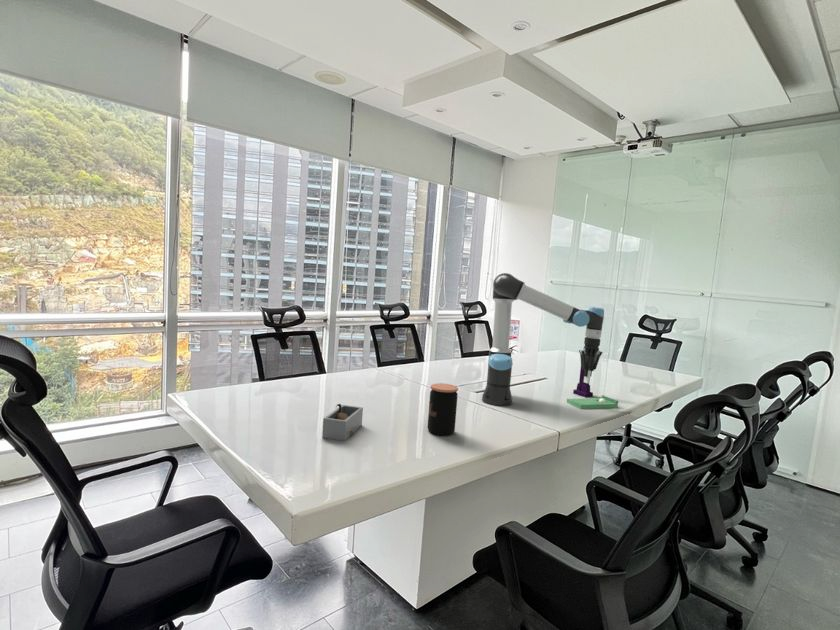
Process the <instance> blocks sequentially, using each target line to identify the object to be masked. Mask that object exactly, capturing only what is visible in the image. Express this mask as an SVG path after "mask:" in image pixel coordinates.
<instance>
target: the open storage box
mask: <svg viewBox="0 0 840 630" xmlns="http://www.w3.org/2000/svg"><path fill="white" fill-rule="evenodd" d="M363 411H364V407H360V406H355V405H354V406H352V405H347V404H346V405H345V404H341V410H340V413H345V414H347V416H348V418H347V419H345V420H338V419H336V415H337V414H338V413H339V407H336V408H335V410H333V411H332V412H329V414H328V415H326V416H324V417H323V419H322V420H323V421H322V433H321V434H322V438H324V439H329V440H336V441H341V442H346V441H347V440H348V438H349V437H350V436H352V435H353V434H350V432H351V431H353V432H354V433H355V432H356V431H357V430H358V429H359V428H361V426H362V425H363V416H364V415H363Z"/></svg>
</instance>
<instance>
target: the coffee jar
mask: <svg viewBox="0 0 840 630" xmlns="http://www.w3.org/2000/svg"><path fill="white" fill-rule="evenodd" d="M430 389H431V390H430V392H429V403H428V404H429V405H428V416H427V430H428V432H429V433H430V434H432V435H434V436H439V437H449V436H452V435H453V434H454V433H455V430H456V420H457V419H456V418H457V406H458V397H459V396H458V391H459V387H458V386H457V385H453V384H451V383H450V384H449V383H440V382H439V383H433V384H431V385H430Z"/></svg>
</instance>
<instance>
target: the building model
mask: <svg viewBox="0 0 840 630" xmlns="http://www.w3.org/2000/svg"><path fill="white" fill-rule="evenodd" d="M572 393H573V394H574V395H576V396H580V397H583V398H592V397H593V398H594V392H592V391H591V384H590V383H585V382H584V369H582V368H581V367H580V371H579V381H578V382H577V385H576V389H573V392H572Z"/></svg>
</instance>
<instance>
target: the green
mask: <svg viewBox="0 0 840 630" xmlns="http://www.w3.org/2000/svg"><path fill="white" fill-rule="evenodd" d="M601 398H603V399H605V401H606V403H601V402H599V399H601ZM566 404H569V405H571V406H573V407H576V408H578V409H580V410H581V409H582V410H583V409H584V410H586V409H618V407H619V405H618V404H619V401H618V400H617V399H614V398H611V397H608V396H606V395H604V394H603V395H601V397H596V398H595V397H593V398H592V397H583V398H567V399H566Z"/></svg>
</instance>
